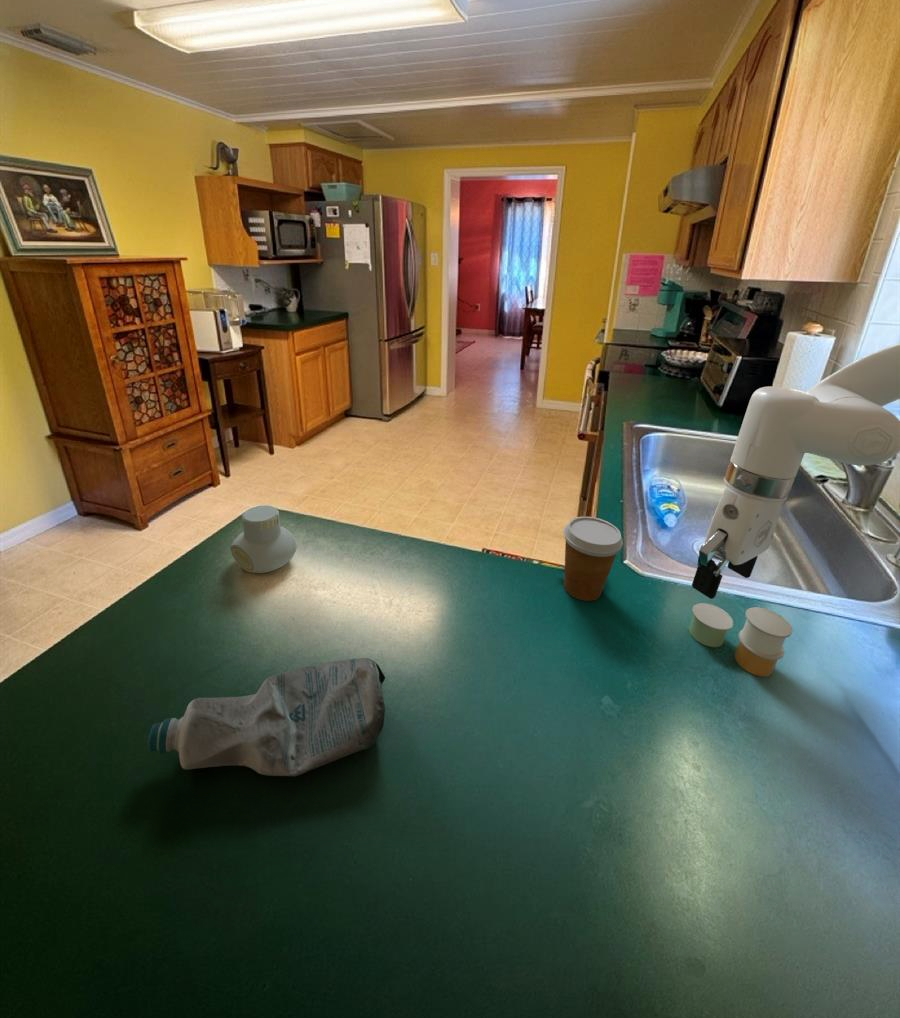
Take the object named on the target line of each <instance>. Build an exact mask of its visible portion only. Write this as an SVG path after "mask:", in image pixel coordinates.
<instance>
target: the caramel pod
mask: <svg viewBox="0 0 900 1018" xmlns="http://www.w3.org/2000/svg"><path fill="white" fill-rule="evenodd" d="M742 631H743V629H741V630H740V631H739V633H738V640H739V642H738V645H737V648H736V650H735V653H734V658H735V661H736V662H737V664H738V665H739V666H740V667H741V669H743V670H745V671H746V672H748V673H750V674H752V675H754V676H757V677H762V678H763V677H765V678H766V677H769V676H771V675H772V674H773V672H774V670H775V667H776V665H777V662H778V661H779V660H780V659H782V658H783V657H784V655H785V649H784V647H783V646H782V648H781V650H780V652H779V654H777V655H773V656H771V655H765V654H762V653H759V652H757V651H755V650H753V649H752V648H750V647H749V646H748V645H747V644H746V643H745V642H744V641H743V639H742V636H741V634H742Z"/></svg>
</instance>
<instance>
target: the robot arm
mask: <svg viewBox="0 0 900 1018" xmlns="http://www.w3.org/2000/svg"><path fill="white" fill-rule="evenodd" d="M899 400H900V342H899V343H895V344H893V345H890V346H887V347H884V348H881V349H879V350H876V351H874V352H873V351H872V352H871V353H869V354H867V355H865V356H862V357H860V358H858V359H856V360H854V361H852V362H850V363H849V364H847V365H845V366H843V367H842V368H840V369H838V370H836V371H835V372H833V373H831V374H830V375H828V376H827V377H825V378H824V379H821V380H820V381H819V382H817V383H816V384H814V385H812V386H811V387H810V388H809V389H808V390H806V391H804V390H803V391H802V390H799V389H795V388H790V387H783V386H774V385H773V386H772V385H771V386H769V385H768V386H763V387H759V388H758V389H756V390H755V391H754V392H753V393H752V395H751V397H750V399H749V402H748V404H747V408H746V411H745V414H744V417H743V420H742V424H741V427H740V429H739V432H738V435H737V438H736V441H735V444H734V447H733V450H732V454H731V457H730V460H729V462H728V466H727V468H726V472H725V475H724V477H723V483H724V485H725V488H724V490H723V493H722V494H721V497H720V499H719V501H718V504H717V506H716V509H715V511H714V512H713V513H714V514H713V516H712V518H711V521H710V524H709V527H708V529H707V531H706V535H705V540H704V544H702V546H701V547H700V548H699V550H698V557H697V563H696V565H697V568H696V570H695V573H694V577H693V580H692V583H691V587H692V588H693V589H694V590H696V591H698V592H699V593H701V594H702V595H704V596H705V597H707V598H708V599H710V600H713V599H714V598H716V596H717V593H718V591H719V587H720V584H721V582H722V579H723V575H722V574H721V573H722V572H723V571H724V569H725V568H726V566H727V568H728V569H729V570H731V571H732V572H734V573H736V574H738V575H740V576H741V577H743V578H745V579H749V578H750V577H751V575H752V573H753V570H754V567H755V565H756V563H757V560H758V557H759V555H761V554H763V553H764V552H766V551H767V550H768V549H769V548H770V546H771V543H772V540H773V538H774V534H775V532H776V528H777V526H778V522H779V519H780V516H781V512H782V509H783V505H784V502H785V501H787V500H788V497H789V495H790V492H791V490H792V486H793V484H794V481H795V479H796V476H797V474H798V472H799V471H798V470H799V469H800V466H801V464H802V461H803V458H804V456H805V454H811V455H814V456H817V457H822V458H824V459H828V460H831V461H835V462H838V463H842V464H845V465H851V466H873V465H877V464H881V463H884V462H887V461H888V460H890V459H892V458H893V457H895V456H896V455H898V454H899V452H900V419H899V418H898V417H897V416H896V415H895V414H894V413H893V412H891V411H890V410H888V409H887V408H885V407H884V406H886V405H889V404H891V403H893V402H895V401H899ZM719 549H721V550H723V551H725V553H724V552H722V551H720V550H719ZM714 556H716V557H717V558H719V559H720V560H719V562H718V563H717V564H716V561H715V560H713V559H714Z"/></svg>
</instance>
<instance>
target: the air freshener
mask: <svg viewBox="0 0 900 1018" xmlns="http://www.w3.org/2000/svg"><path fill="white" fill-rule="evenodd" d="M241 518H242V528H243V531H242V532H241V533H239V534H238V536H237V537H235V539H233V541H232V543H231V546H230V553H231V556H232V557H233V559H234V561H235V563H237V565H239V567H241V569H243V570H244V571H245V572H248V573H250V574H252V573H253V574H263V573H269V572H273V571H276V570H279V568H282V567H283V566H285V565H286V564H288V563H290V561H291V560H292V558H293V557H294V555H295V554H296V551H297V548H298V544H297V541H296V539H295V537H294V535H293V534H292V533H291V532H290V531H289V530H288V529H287V528H285V527H284V526H282V525H281V518H280V511H279V509H278V508H276V507H275V506H272V505H265V504H264V505H257V506H253V507H251V508H249V509H247V510H245V511H244V513H243V514H242V516H241Z"/></svg>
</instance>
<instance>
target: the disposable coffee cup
mask: <svg viewBox="0 0 900 1018" xmlns="http://www.w3.org/2000/svg"><path fill="white" fill-rule="evenodd" d="M563 535H564V540H565V549H564V552H565V553H564V576H563V577H564V578H563V588H564V590H565V591H566V593H568V594H569V595H570V596H571V597H573V598H575V599H577V600H580V601H586V602H591V601H596V600H598V599H599V598H600V597H601V595H602V592H603V590H604V587H605V585H606V583H607V579H608V577H609V575H610V572H611V569H612V567H613V564H614V561H615V560H616V557H617V554H618V553H619V551H621V550H622V548H623V545H624V541H623V538H622V533H621V531H620V530H619V528H618V527H617V526H615V525H614V524H613V523H611V522H609V521H607V520H605V519H602V518H599V517H595V516H576V517H574V518H572V519H570V520H569V521H568V523H567V524H566V526H565V527H564V529H563Z"/></svg>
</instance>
